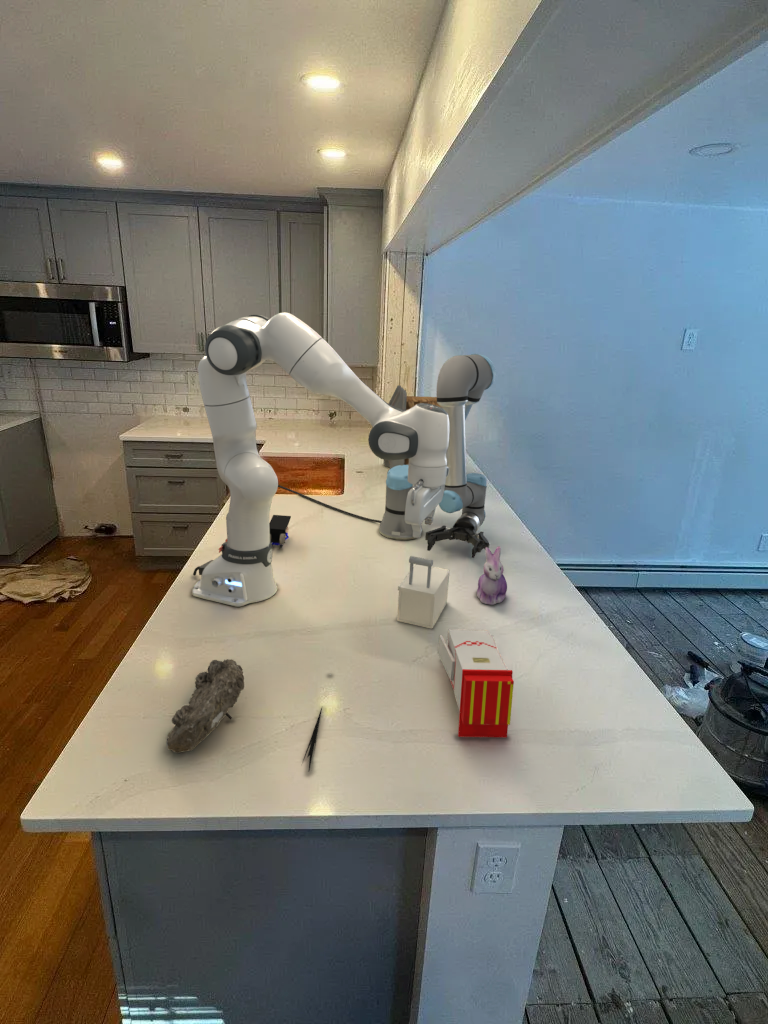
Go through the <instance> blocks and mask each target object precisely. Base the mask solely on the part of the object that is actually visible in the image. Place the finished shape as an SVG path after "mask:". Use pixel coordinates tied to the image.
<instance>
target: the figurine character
mask: <svg viewBox="0 0 768 1024" xmlns="http://www.w3.org/2000/svg"><path fill="white" fill-rule="evenodd" d="M291 517H292V516H291V515H284V514H283V515H282V514H273V515H272V517H271V519H270V520H269V526H270V541H271V544H272V549H273V548H274V546H279V547H278V550H281V549H283V548H282V547H283V546H284V545H285V544H286V541H287V540H288V539H289V538H290V536H289V523H290V521H291Z"/></svg>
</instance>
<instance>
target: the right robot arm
mask: <svg viewBox="0 0 768 1024" xmlns="http://www.w3.org/2000/svg"><path fill="white" fill-rule="evenodd" d="M496 375H497V371H496V367H495V364H494V363H493V361H492V360H491V358H489V357H488V356H487V355H484V354H479V353H472V354H460V355H459V354H457V355H454V356H452V357H450V358H448V359H447V360H446V361H444V363H443V364H442V365H441V368H440V369H439V372H438V376H437V380H436V381H437V382H436V397H437V403H438V404H439V405H440V407H441V408H443V409H444V410H445V411H446V413H447V414H448V417H449V427H450V430H449V445H448V449H447V452H446V459H447V467H449V474H448V476H447V477H446V482H445V488H444V494H443V498H442V501H441V502H440V503H439V504H438V506H439V508H440V509H441V510H442V511H443V512H444V513H446V514H453V513H456V512H459V511H461V515H460V516H459V517H458V519H457V520H456V521H455V523H454V524H453V525H452V527H450V528H447V526H446V525H441V526H440V527H438V528H437V527H436V528H435V529H432V530H427V531H426V532H425V537H424V538H425V539H424V540H425V541H427V542H426V544H427V547H426V548H427V549H426V551H429V552H430V551H431V550H432V548H433V547H434V546H435V544H436V543H437V542H440V541H447V540H449V541H454V540H459V541H461V542H466V543H468V544H471V545H472V546H473V547H472V549H471V555H470V556H471V557H470V558H471V559H475V557H476V555H477V553H481V552H482V551H483V550H485V548H486V547H488V548H489V549H490V541H489V539H487V537H486V535H485V534H484V533H485V532H484V531H479V532H478V530H479V529H480V528H481V526H482V525H483V523H484V521H485V519H486V516H487V515H486V510H485V504H486V496H487V495H486V494H487V488H488V485H487V481H488V479H487V476H486V475H485V474H482V473H479V472H469V473H467V451H466V450H467V448H466V447H467V445H466V420H467V419H468V416H469V414H470V412H471V409H472V407H473V405H475V404H477V403H479V402H480V401H481V398H482V397H483V394H484V392H485V391H486V390H488V389H490V387H492V385H494V383H495V381H496V377H497V376H496ZM408 466H409V465H402V466H401V465H398V466H395V467H393V468H391V469H390V468H389V470H388V471H387V474H386V479H385V504H384V505H385V507H384V508H385V509H384V513H383V515H382V519H381V520H379V519H375V518H374V519H373V518H368V517H365V516H362V515H358V514H355V513H352V512H348V511H346V510H343V509H341V508H338V507H336V506H332V505H330V504H327V503H325V502H322V501H319V500H317V499H315V498H313V497H310V496H308V495H305V494H303V493H300V492H298V491H297V490H293V489H290V488H288V487H285V486H283V485H280V484H278V488H280V489H282V490H285V491H288V492H290V493H293V494H295V495H298V496H300V497H303V498H305V499H307V500H310V501H312V502H314V503H316V504H319V505H322V506H323V507H327V508H330V509H331V510H334V511H337V512H340V513H343V514H345V515H349V516H352V517H354V518H356V519H357V518H358V519H361V520H365V521H368V522H371V523H372V522H373V523H377V524H378V523H379V526H378V533H379V534H380V535H381V536H382V537H385V538H387V539H389V540H395V541H410V540H415V539H416V538H414V537H413V529H412V525H411V524H407V523H406V522H405V508H406V500H407V495H408V492H409V491H410V490H411V489H412V488H413V484H411V483H409V482H408ZM421 529H422V530H423V525H421Z"/></svg>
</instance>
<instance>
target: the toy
mask: <svg viewBox="0 0 768 1024" xmlns="http://www.w3.org/2000/svg"><path fill="white" fill-rule="evenodd" d="M446 640H447V643H446V641H445V639H444V636H443V635H442V634H439V637H438V646H437V656H438V657H439V659H440V661H441V663H442V666H443V668H444V670H445V672H446V674H447V677H448V679H449V681H450V684H451V687H452V690H453V693H454V697H455V701H456V705H457V708H458V711H459V714H458V715H459V716H458V730H457V731H458V732H457V737H458V738H508V731H509V726H510V725H511V717H512V707H513V697H514V696H513V695H514V684H515V680H514V679H513V673H514V671H513V670H512V669H508V667H507V665H506V662H505V661H504V659H503V658H502V655H501V653H500V651H499V649H498V647H497V643H496V639H495V637H494V635H493V634H491V632H490V631H489V629H467V628H466V629H465V628H463V629H461V628H460V629H459V628H448V630H447V639H446Z"/></svg>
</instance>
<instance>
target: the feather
mask: <svg viewBox="0 0 768 1024" xmlns="http://www.w3.org/2000/svg"><path fill="white" fill-rule="evenodd" d="M329 675H330V676H331V675H332V674H331V673H330V674H329ZM322 710H323V707H321V708H320V710H319V713H318V716H317V719H316V723H315V725H314V728H313V731H312V733H311V737H310V739H309V742H308V745H307V748H306V751H305V754H304V757H303V760H302V763H301V767H302V765H303V763H304V761H305V758H308V759H309V760H308V762H307V763H308V764H307V766H308V771H310V770H311V766H312V765H311V764H312V760H313V757H315V756H314V755H315V751H316V749H315V746H317V739H318V733H319V729H320V722H321V717H322V712H323V711H322ZM313 754H314V755H313ZM306 755H307V757H306Z"/></svg>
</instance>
